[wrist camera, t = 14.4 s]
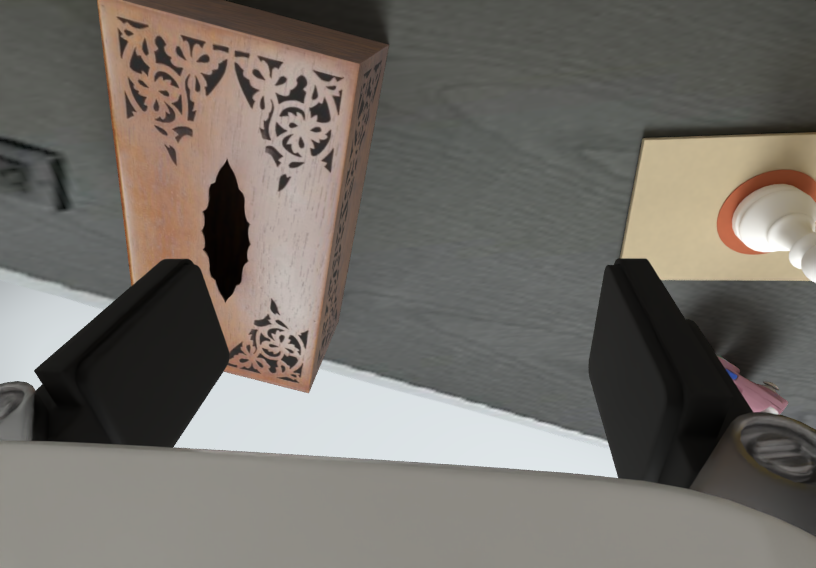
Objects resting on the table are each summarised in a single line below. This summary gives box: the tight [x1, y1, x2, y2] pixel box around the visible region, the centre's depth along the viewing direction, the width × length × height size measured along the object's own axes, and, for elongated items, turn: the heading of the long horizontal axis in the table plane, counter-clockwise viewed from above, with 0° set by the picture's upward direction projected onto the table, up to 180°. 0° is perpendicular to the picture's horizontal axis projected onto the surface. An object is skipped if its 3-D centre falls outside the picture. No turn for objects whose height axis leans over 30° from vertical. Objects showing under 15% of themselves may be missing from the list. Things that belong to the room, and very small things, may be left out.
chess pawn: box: [732, 184, 816, 283], centre depth 32 cm, size 5×5×9 cm
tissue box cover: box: [97, 0, 389, 393], centre depth 36 cm, size 26×14×10 cm, turn 167°
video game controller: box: [717, 355, 788, 415], centre depth 43 cm, size 10×5×7 cm, turn 58°
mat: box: [620, 132, 816, 281], centre depth 36 cm, size 12×20×1 cm, turn 94°
